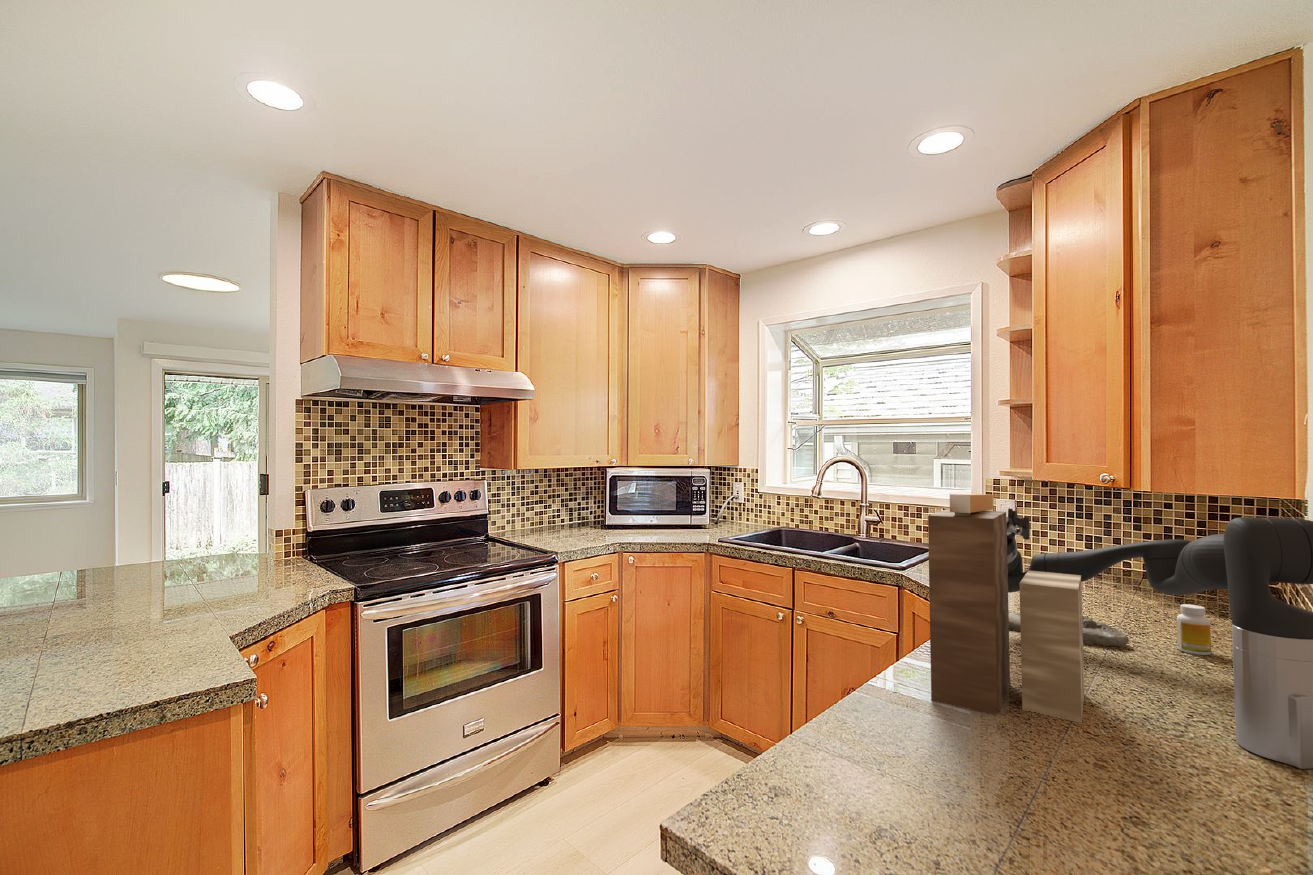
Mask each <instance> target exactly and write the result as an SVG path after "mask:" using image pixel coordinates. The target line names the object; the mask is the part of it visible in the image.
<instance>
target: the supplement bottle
mask: <svg viewBox="0 0 1313 875" xmlns="http://www.w3.org/2000/svg"><path fill="white" fill-rule="evenodd" d="M1180 612H1181V613H1180V614H1178V615H1177V616H1176V635H1177V640H1176V641H1177V649H1178V650H1179V651H1181V652H1184V653H1188V654H1191V655H1198V656H1210V655H1211V654H1212V638H1211V637H1212V635H1211V633H1212V632H1211V621H1210V619H1209V618H1208V617H1206V616H1205V615H1206V613H1207V612H1206V608H1205V607H1204V606H1201V605H1196V604H1188V603H1185V604H1184V603H1183V604H1180Z"/></svg>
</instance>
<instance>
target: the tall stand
mask: <svg viewBox="0 0 1313 875" xmlns="http://www.w3.org/2000/svg"><path fill="white" fill-rule="evenodd" d="M1006 517H1007V511H1005V510H1003V511H1002V510H1001V511H1000V510H999V511H997V510H986V511H979V512H972V513H958V512H950V508H946V509H943V510H940V511H937V512H934V513H931V514H928V515H927V529H928V530H927V532H928V534H927V537H928V541H927V542H928V582H929V583H928V588H929V589H928V593H929V635H930V636H929V638H930V639H929V641H930V642H929V643H930V644H929V645H930V647H929V650H930V653H929V654H930V692H931V693H930V696H931V698H930V700H931V701H932V702H936V703H940V704H941V703H942V704H946V705H950V706H954V707H958V708H963V709H967V710H972V711H976V712H980V713H984V714H988V715H993V716H999V712H1000V711H1001V708H1002V706H1003V704H1004V701H1005V698H1006V697H1007V694H1008V692H1009V689H1010V687H1011V665H1010V664H1011V662H1010V660H1011V659H1010V658H1011V657H1010V629H1009V612H1010V611H1009V609H1010V608H1009V593H1008V565H1007V521H1006Z"/></svg>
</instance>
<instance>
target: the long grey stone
mask: <svg viewBox="0 0 1313 875" xmlns="http://www.w3.org/2000/svg"><path fill="white" fill-rule="evenodd" d="M1082 626H1083V645H1084V644H1085V645H1091V646H1094V645H1098V646H1105V647H1107V646H1108V647H1109V646H1111V647H1120V648H1121V647H1125V646H1127V645H1128V644H1129V642H1130V638H1129V636H1128V635H1127V634H1126V633H1124V632H1122V631H1120V630H1118V629H1117V628H1113V627H1111V626H1110V625H1108V624H1106V623H1104V622H1101V621H1094V619H1093V618H1091V617H1085V616H1083V614H1082ZM1013 629H1015V630H1014V631H1017V630H1019V631H1018V632H1021V627H1020V612H1014V611H1013V612H1012V611H1009V630H1013Z"/></svg>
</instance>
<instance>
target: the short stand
mask: <svg viewBox="0 0 1313 875" xmlns="http://www.w3.org/2000/svg"><path fill="white" fill-rule="evenodd" d="M1027 570H1028V569H1027ZM1019 585H1020V591H1019V611H1020V612H1019V613H1020V627H1021V631H1020V659H1021V660H1020V664H1021V665H1020V666H1021V667H1020V668H1021V669H1020V670H1021V702H1022V703H1021V704H1022V711H1025V710H1027V711H1026V712H1029V711H1031V713H1034V712H1036V713H1035V714H1038V713H1040V714H1039V715H1043V714H1044V715H1043V716H1047V715H1049V716H1048V717H1052V716H1054V717H1053V718H1056V717H1057V718H1058V719H1061V720H1065V719H1067V720H1066V721H1070V722H1075V723H1080V724H1082V723H1083V722H1082V721H1083V712H1084V700H1085V677H1084V676H1085V673H1084V672H1085V671H1084V670H1085V669H1084V666H1085V665H1084V643H1083V626H1082V615H1083V599H1082V598H1083V597H1082V596H1083V595H1082V594H1083V593H1082V582H1081V575H1071V574H1061V573H1050V572H1040V571H1030V570H1028V572H1027V573H1026V574H1025V576H1024V577H1023V579H1022V580H1021V582H1020V583H1019Z"/></svg>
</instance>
